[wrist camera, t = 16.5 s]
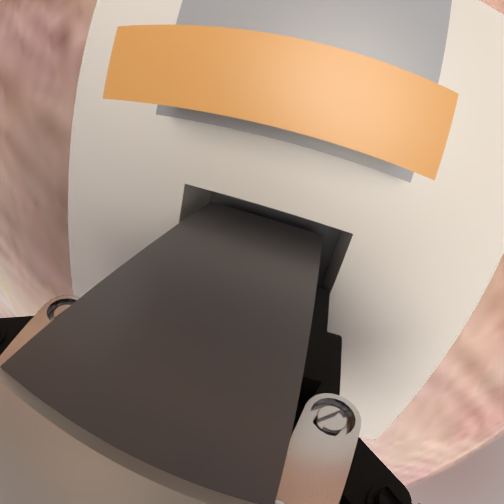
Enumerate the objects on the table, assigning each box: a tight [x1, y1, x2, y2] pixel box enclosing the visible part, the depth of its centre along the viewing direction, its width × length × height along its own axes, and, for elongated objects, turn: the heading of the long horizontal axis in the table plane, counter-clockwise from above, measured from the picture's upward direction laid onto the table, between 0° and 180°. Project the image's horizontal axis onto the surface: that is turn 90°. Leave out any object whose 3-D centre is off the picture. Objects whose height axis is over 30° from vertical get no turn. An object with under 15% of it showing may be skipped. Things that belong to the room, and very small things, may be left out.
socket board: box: [68, 0, 504, 440], centre depth 11 cm, size 16×18×3 cm
